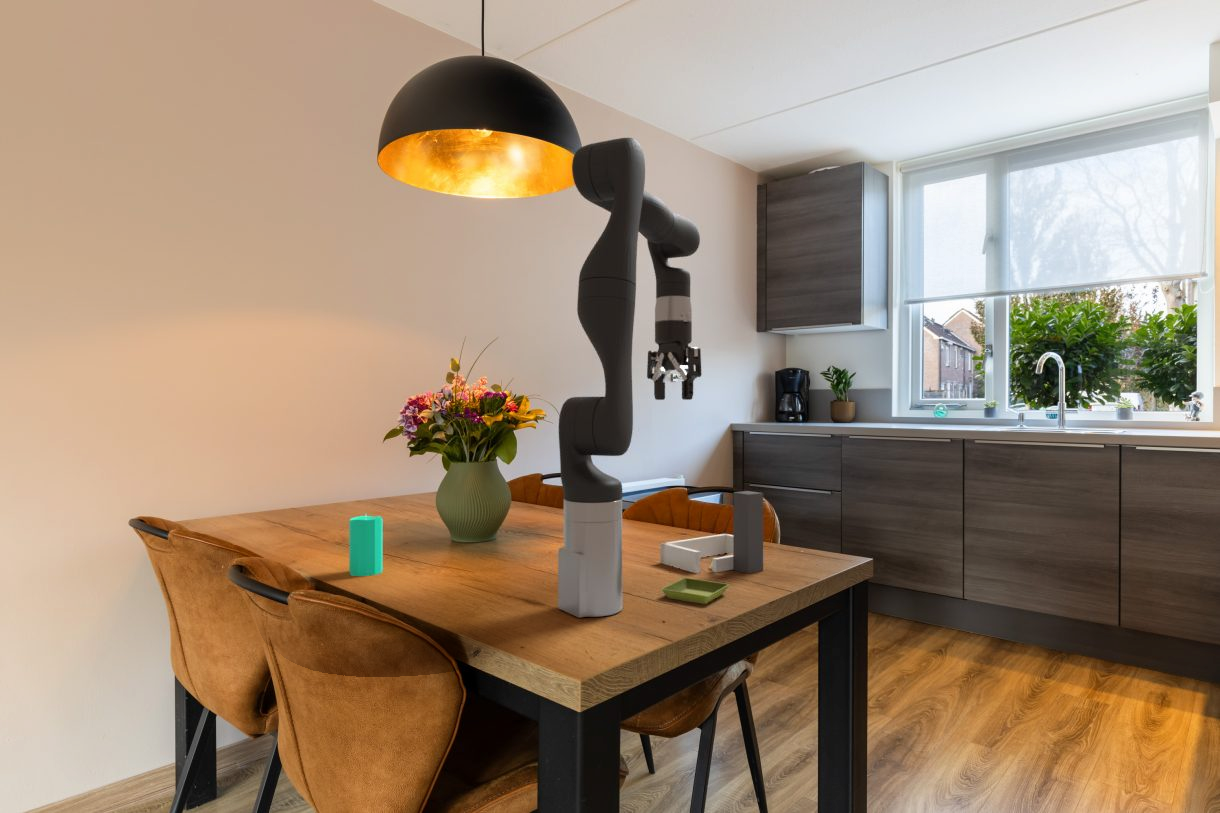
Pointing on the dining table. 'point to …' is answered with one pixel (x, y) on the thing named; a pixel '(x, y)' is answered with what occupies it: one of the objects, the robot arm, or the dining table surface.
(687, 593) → the green square dish
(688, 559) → the white walled enclosure
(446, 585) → the dining table surface
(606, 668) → the dining table surface
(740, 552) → the grey upright piece
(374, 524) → the candle
